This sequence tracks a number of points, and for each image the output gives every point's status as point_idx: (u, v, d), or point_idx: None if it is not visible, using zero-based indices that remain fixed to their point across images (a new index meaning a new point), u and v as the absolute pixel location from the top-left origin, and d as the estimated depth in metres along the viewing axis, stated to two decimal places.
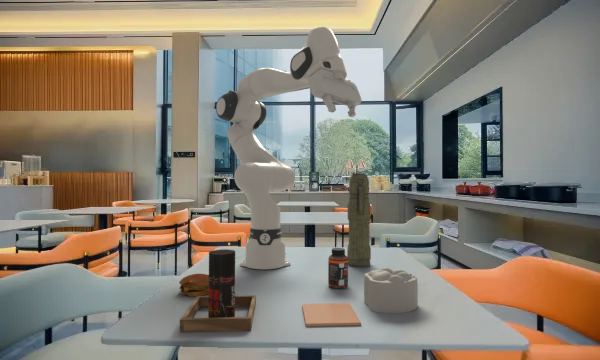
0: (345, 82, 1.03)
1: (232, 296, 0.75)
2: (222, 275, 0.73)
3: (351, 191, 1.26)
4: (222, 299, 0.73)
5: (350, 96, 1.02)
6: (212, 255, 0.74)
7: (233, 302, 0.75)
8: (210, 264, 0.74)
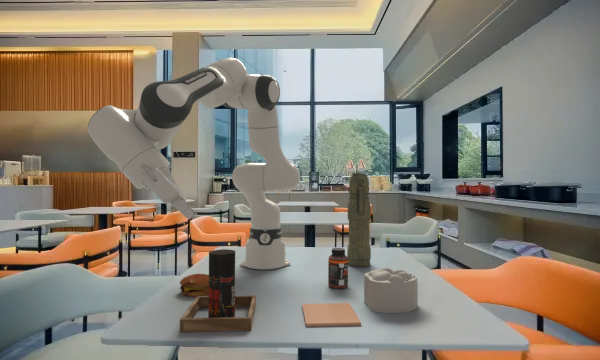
0: None
1: (232, 296, 0.75)
2: (222, 275, 0.73)
3: (351, 191, 1.26)
4: (222, 299, 0.73)
5: None
6: (212, 255, 0.74)
7: (233, 302, 0.75)
8: (210, 264, 0.74)
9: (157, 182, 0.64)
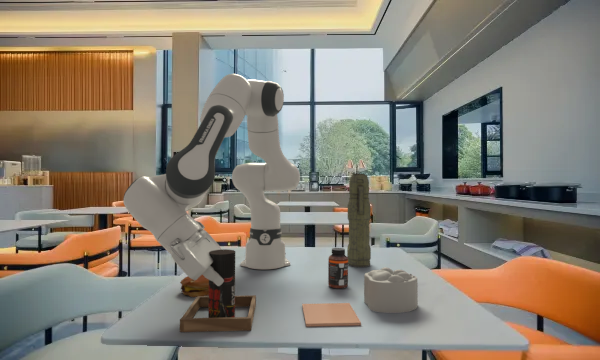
0: None
1: (232, 296, 0.75)
2: (222, 275, 0.73)
3: (351, 191, 1.26)
4: (222, 299, 0.73)
5: None
6: (212, 255, 0.74)
7: (233, 301, 0.75)
8: None
9: (185, 261, 0.66)
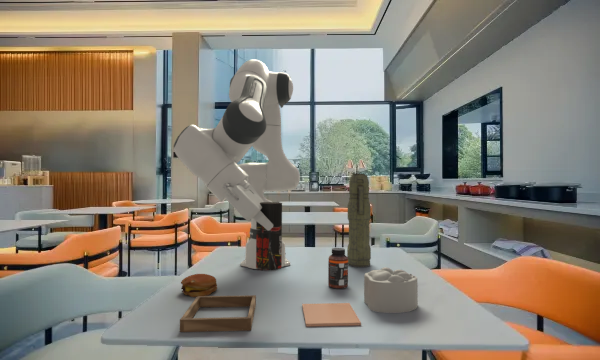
0: None
1: (279, 246, 0.76)
2: None
3: (351, 191, 1.26)
4: (271, 247, 0.74)
5: None
6: (261, 204, 0.75)
7: (280, 251, 0.76)
8: None
9: (239, 201, 0.67)
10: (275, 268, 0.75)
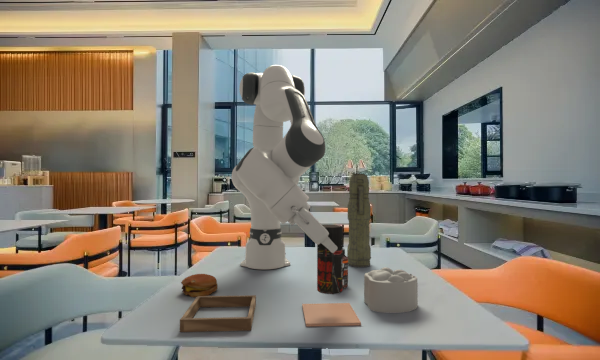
0: None
1: (341, 269, 0.76)
2: None
3: (351, 191, 1.26)
4: (334, 271, 0.75)
5: None
6: None
7: (342, 274, 0.77)
8: None
9: (309, 225, 0.68)
10: (338, 291, 0.75)
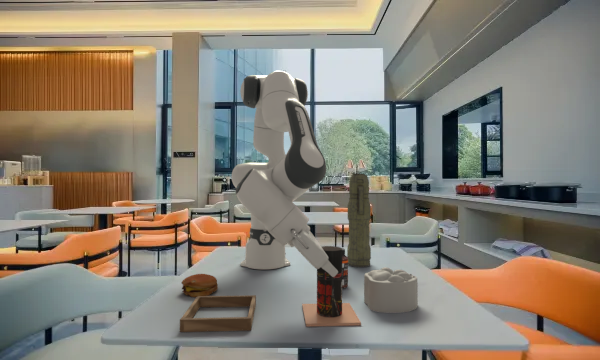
0: None
1: (341, 291, 0.76)
2: None
3: (351, 191, 1.26)
4: (334, 294, 0.75)
5: None
6: None
7: (341, 297, 0.77)
8: None
9: (309, 250, 0.68)
10: (338, 314, 0.75)
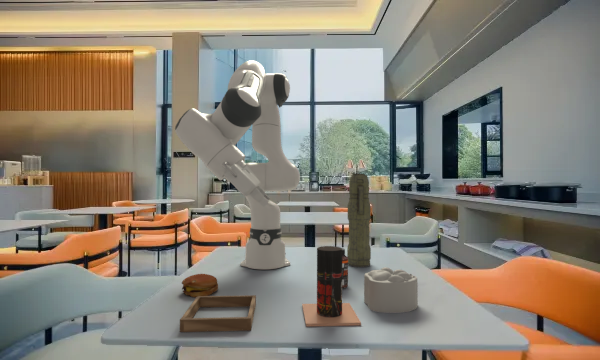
0: None
1: (341, 291, 0.76)
2: (334, 271, 0.75)
3: (351, 191, 1.26)
4: (334, 294, 0.75)
5: None
6: (323, 251, 0.75)
7: (341, 297, 0.77)
8: (321, 260, 0.76)
9: (237, 178, 0.73)
10: (338, 314, 0.75)
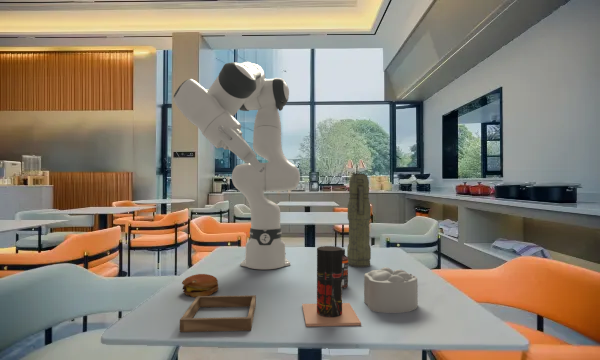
0: (226, 144, 0.82)
1: (341, 291, 0.76)
2: (334, 271, 0.75)
3: (351, 191, 1.26)
4: (334, 294, 0.75)
5: None
6: (323, 251, 0.75)
7: (341, 297, 0.77)
8: (321, 260, 0.76)
9: (232, 140, 0.76)
10: (338, 314, 0.75)
